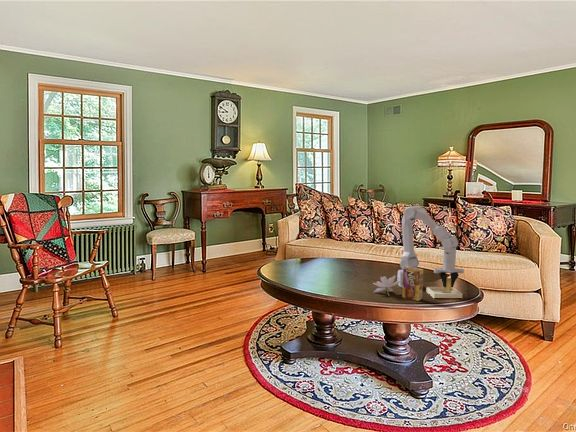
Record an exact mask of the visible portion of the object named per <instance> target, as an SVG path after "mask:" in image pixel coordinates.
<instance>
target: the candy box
mask: <svg viewBox="0 0 576 432" xmlns="http://www.w3.org/2000/svg"><path fill="white" fill-rule="evenodd" d="M423 283H424V269H423V268H419V267H416V268H413V267H404V268H403V287H402V294H401V295H402V296H401V297H402V298H403V299H408V300H413V301H416V302H417V301H418V302H420V301H421V299H423V288H424V287H423V285H424V284H423Z"/></svg>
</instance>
